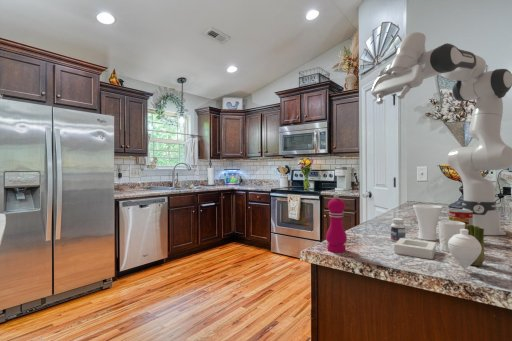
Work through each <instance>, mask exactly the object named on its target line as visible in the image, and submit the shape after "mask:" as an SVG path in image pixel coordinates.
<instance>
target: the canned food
mask: <svg viewBox="0 0 512 341" xmlns="http://www.w3.org/2000/svg"><path fill="white" fill-rule="evenodd" d="M448 220H449V221H458V222H463V223H465V229H466V225H473V211H470V210H462V209H461V208H460V209H459V208H457V209H453V208H450V209H449V210H448Z"/></svg>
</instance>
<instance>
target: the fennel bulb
mask: <svg viewBox="0 0 512 341" xmlns="http://www.w3.org/2000/svg"><path fill="white" fill-rule="evenodd" d="M466 229H467V230H469V231H468V235H471V236H473V237H475V238H476V239H477V240H478V241H479V243H480V244H481V248H482V249H481V253H480V255H479V256H478V258H477V259H476V260H475V261H474V262H473V263H472V264H471V265H470V266H479V267H480V266H482V265H483V264H484V262H485V261H484V260H485V242H484V241H485V240H484V236H485V235H484V229H483V228H479V227H478V226H474V225H466Z"/></svg>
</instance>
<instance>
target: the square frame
mask: <svg viewBox="0 0 512 341" xmlns="http://www.w3.org/2000/svg"><path fill="white" fill-rule="evenodd" d="M393 250H394V254H398V255H404V256H409V257H415V258H422V259H430V260H433V259H434V256H435V255H436V252H437V242H434V241H429V240H421V239H420V240H419V239H412V238H411V239H410V238H406V237H405V238H400V239H399V240H398V241H397V242H395V243H394V249H393Z"/></svg>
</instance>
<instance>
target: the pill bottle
mask: <svg viewBox="0 0 512 341" xmlns="http://www.w3.org/2000/svg"><path fill="white" fill-rule="evenodd" d="M404 223H405V219H404V218H400V217H393V218H392V223H391V224H390V241H392V242H395V243H396V242H397V241H398V240H399V239H400V238H405V239H406V225H405V224H404Z"/></svg>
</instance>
